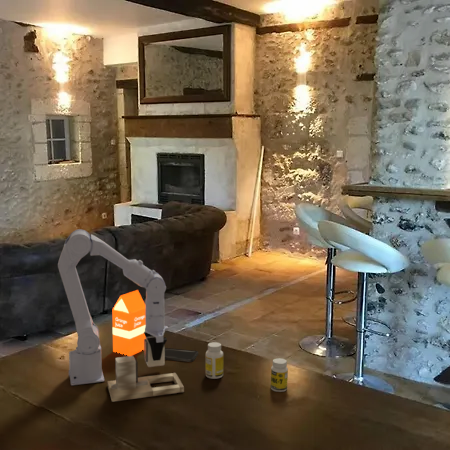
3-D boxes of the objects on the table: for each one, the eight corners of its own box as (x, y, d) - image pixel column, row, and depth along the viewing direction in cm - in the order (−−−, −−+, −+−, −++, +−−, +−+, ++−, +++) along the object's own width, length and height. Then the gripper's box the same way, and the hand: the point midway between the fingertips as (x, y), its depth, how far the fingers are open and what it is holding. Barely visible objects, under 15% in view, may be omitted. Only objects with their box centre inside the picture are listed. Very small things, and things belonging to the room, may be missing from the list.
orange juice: (147, 348, 186) (147, 291, 183) (130, 356, 178) (129, 297, 175) (130, 343, 190) (129, 287, 187) (112, 351, 182) (111, 293, 179)
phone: (156, 346, 185) (199, 350, 182) (156, 350, 185) (199, 354, 182) (148, 355, 177) (192, 359, 174) (148, 358, 178) (192, 363, 174)
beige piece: (112, 401, 147) (111, 368, 146) (107, 386, 156) (106, 354, 155) (183, 391, 153) (183, 359, 152) (175, 377, 163) (175, 347, 161)
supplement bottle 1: (224, 372, 167) (224, 341, 165) (222, 379, 162) (222, 348, 160) (206, 371, 167) (206, 340, 166) (204, 378, 162) (204, 347, 161)
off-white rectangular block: (146, 367, 163) (146, 341, 162) (143, 362, 167) (143, 337, 166) (164, 365, 165) (164, 339, 164) (161, 360, 168) (161, 335, 167)
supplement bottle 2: (267, 390, 155) (268, 361, 154) (274, 383, 159) (275, 356, 158) (283, 393, 153) (284, 365, 152) (289, 387, 157) (290, 359, 156)
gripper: (173, 320, 158) (173, 364, 160) (162, 306, 172) (163, 347, 174) (149, 322, 156) (149, 367, 158) (140, 307, 169) (141, 349, 171)
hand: (155, 357), depth 166 cm, fingers closed on off-white rectangular block, 4 cm apart
